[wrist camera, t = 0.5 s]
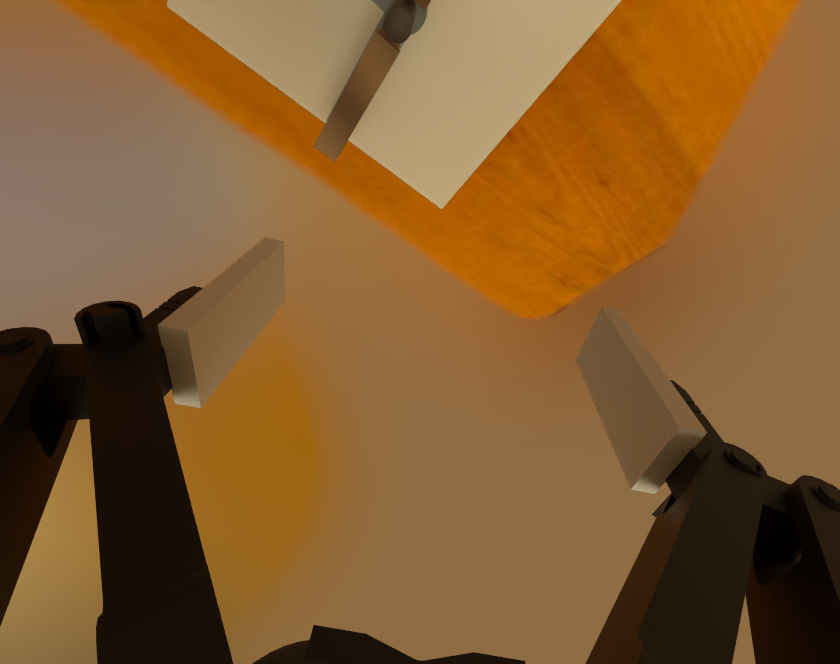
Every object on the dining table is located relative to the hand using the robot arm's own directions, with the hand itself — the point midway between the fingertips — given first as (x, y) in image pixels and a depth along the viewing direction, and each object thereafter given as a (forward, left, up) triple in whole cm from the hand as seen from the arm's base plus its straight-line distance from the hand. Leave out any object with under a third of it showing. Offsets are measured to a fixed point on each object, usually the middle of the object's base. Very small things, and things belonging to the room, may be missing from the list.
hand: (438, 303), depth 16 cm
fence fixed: (0, -6, -24) cm, 25 cm away
